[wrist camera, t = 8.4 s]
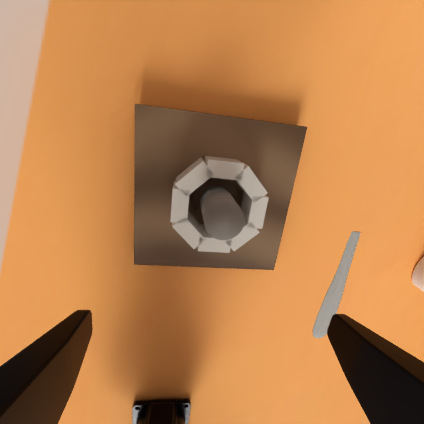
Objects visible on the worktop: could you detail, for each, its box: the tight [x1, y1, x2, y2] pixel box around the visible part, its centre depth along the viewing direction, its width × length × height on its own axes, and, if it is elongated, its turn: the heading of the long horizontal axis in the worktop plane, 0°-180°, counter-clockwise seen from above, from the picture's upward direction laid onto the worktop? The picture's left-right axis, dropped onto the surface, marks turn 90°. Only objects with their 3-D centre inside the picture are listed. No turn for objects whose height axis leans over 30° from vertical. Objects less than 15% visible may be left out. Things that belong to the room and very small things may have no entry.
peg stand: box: [134, 104, 307, 270], centre depth 16 cm, size 12×12×6 cm
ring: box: [170, 156, 269, 253], centre depth 16 cm, size 6×6×2 cm
